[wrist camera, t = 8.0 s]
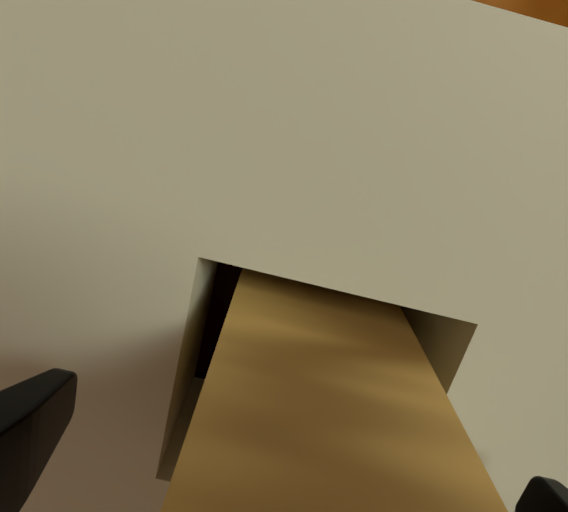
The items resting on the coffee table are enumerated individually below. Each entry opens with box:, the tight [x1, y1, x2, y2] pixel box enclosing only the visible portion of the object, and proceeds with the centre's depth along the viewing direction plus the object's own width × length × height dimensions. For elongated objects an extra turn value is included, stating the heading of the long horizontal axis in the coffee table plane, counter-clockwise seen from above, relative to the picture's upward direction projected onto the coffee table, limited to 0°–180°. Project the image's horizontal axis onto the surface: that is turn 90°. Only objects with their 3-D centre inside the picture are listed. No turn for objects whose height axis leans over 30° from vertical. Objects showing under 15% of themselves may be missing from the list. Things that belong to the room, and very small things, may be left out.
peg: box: [160, 268, 508, 512], centre depth 9 cm, size 4×4×9 cm
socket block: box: [0, 0, 568, 512], centre depth 11 cm, size 16×16×4 cm
